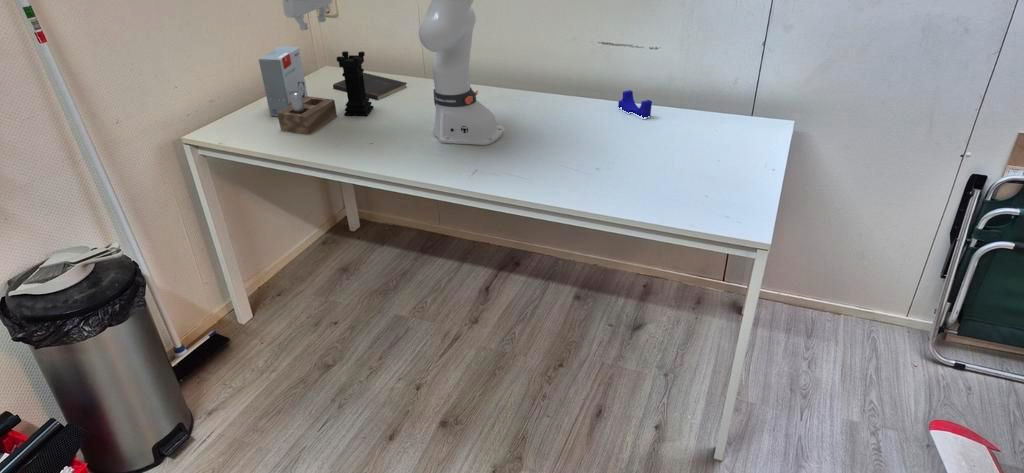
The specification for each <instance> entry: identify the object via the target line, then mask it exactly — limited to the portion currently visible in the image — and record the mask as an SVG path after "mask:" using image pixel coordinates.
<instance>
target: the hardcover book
mask: <svg viewBox="0 0 1024 473" xmlns="http://www.w3.org/2000/svg"><path fill="white" fill-rule="evenodd" d="M363 79H364V86H365V93H366V98H369V99H370V100H371V99H372V100H374V101H379V100H380V99H383V98H385V97H388V96H390V95H393V94H394V93H397V92H399V91H401V90H403V88H404V89H406V88H407V84H408V83H407V82H405V81H401V80H396V79H393V78H389V77H388V78H387V77H384V76H379V75H376V74H370V73H368V72H367V73H366V72H363ZM332 89H333V90H337V91H340V92H344V93H347V90H346V84H345V79H343V80H340V81H337V82H335V83H333V85H332Z"/></svg>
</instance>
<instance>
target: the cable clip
mask: <svg viewBox="0 0 1024 473" xmlns="http://www.w3.org/2000/svg"><path fill="white" fill-rule="evenodd" d="M633 92H634V91H633V90H631V89H630V90H629V89H628V90H625V91H622V98H621V100H618V105H617V106H618V107H619V108H620V107H622V110H624V111H626V112H628V113H629V112H633V113H635V114H637V115H639V116H641V115H642V117H643V118H644V117H648V116H650V117H651V113H652V103H653V101H652V100H650V99H647V100H643V101H641V104H640V107H638V106H637V104H636V102H635V100H634V93H633ZM618 107H617V108H618Z"/></svg>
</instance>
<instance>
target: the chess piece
mask: <svg viewBox="0 0 1024 473" xmlns="http://www.w3.org/2000/svg"><path fill="white" fill-rule="evenodd" d="M357 54H358V55H357ZM357 54H356V55H355V54H353V55H350V54H349V51H345V50H344V51H342V52H341V55H342V56H341V55H340V56H336V62H337V63H338V65H339V68H342V71H343V72H342V73H341V74H342V77H344V78H343V79H344V80H345V84H346V90H347V92H346V94H347V96H346V97H347V102H346V103H345V108H344V111H345V112H344V114H343V116H344V117H361V118H362V117H365V118H366V117H369V115H370V113H371V112H372V111H373V110H374V107H375V106H374V105H372V104H373V103H372V101H370V100H371V98H367V97H366V93H365V86H364V79H363V73H365V70H364V69H365V68H363V67H362V64H363V63H364V62H365V58H364V57H365V56H366V55H365V51H358V53H357Z"/></svg>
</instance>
